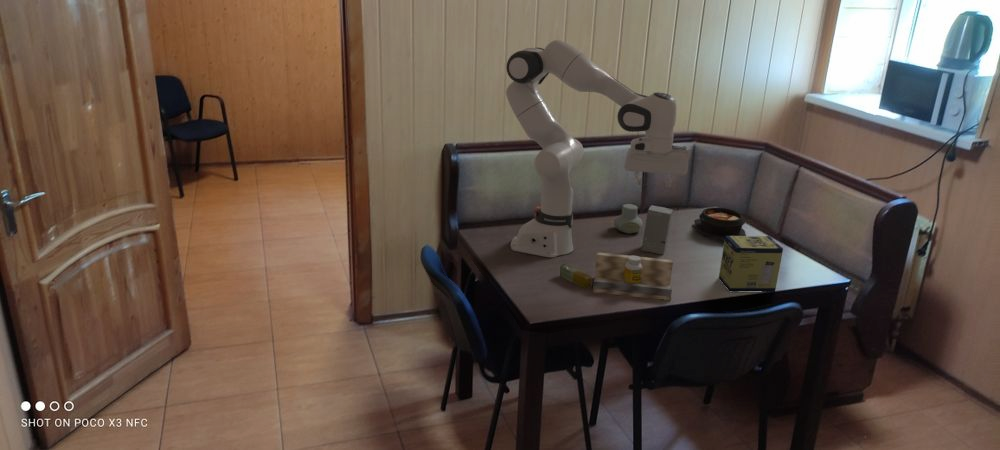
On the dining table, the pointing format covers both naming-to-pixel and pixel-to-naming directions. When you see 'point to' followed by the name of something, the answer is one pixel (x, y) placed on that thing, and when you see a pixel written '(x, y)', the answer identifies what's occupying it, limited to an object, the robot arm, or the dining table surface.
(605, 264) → the cleat board
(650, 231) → the skincare box
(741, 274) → the protein box
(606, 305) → the dining table surface
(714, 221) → the casserole
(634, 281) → the supplement bottle
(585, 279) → the medication box
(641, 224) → the air freshener
